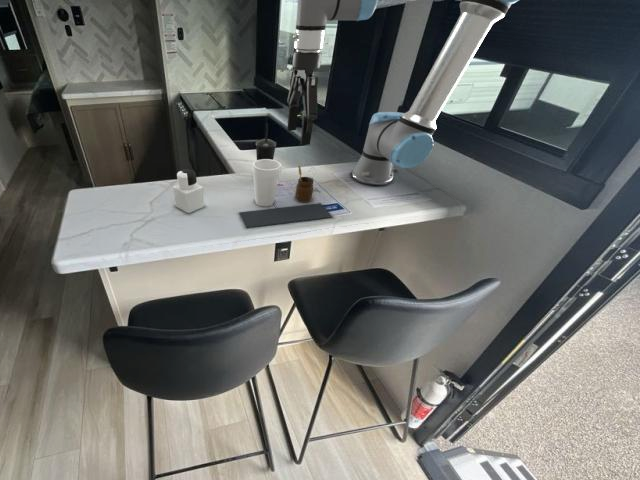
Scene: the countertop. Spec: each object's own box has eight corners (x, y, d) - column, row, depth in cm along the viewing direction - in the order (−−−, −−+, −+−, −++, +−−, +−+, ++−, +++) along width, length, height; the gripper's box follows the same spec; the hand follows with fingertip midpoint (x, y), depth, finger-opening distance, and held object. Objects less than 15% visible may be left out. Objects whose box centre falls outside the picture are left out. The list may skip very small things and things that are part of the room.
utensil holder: (314, 201, 113) (320, 167, 105) (298, 203, 112) (302, 169, 104) (307, 194, 118) (312, 160, 109) (291, 196, 116) (295, 162, 108)
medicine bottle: (191, 199, 114) (188, 165, 106) (204, 206, 110) (202, 171, 102) (175, 206, 110) (170, 171, 102) (188, 214, 107) (184, 178, 98)
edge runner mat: (320, 204, 112) (320, 203, 112) (332, 217, 105) (332, 216, 105) (239, 213, 107) (239, 212, 107) (246, 228, 100) (246, 227, 100)
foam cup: (276, 209, 109) (279, 171, 100) (249, 207, 110) (250, 168, 101) (279, 197, 116) (282, 160, 107) (253, 194, 117) (255, 158, 108)
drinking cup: (274, 184, 124) (278, 127, 110) (254, 184, 124) (256, 127, 110) (272, 176, 129) (277, 120, 115) (253, 175, 129) (255, 120, 115)
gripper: (281, 45, 93) (275, 125, 108) (310, 57, 76) (298, 151, 90) (305, 44, 94) (297, 124, 109) (340, 56, 77) (324, 149, 91)
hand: (297, 136), depth 100 cm, fingers open, 13 cm apart
